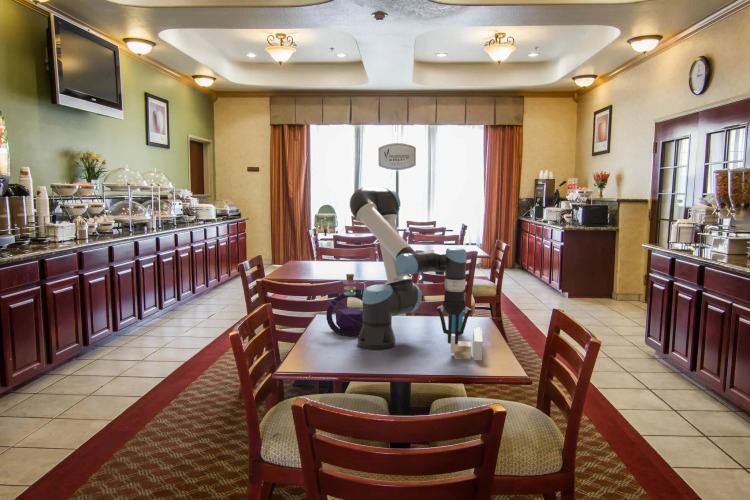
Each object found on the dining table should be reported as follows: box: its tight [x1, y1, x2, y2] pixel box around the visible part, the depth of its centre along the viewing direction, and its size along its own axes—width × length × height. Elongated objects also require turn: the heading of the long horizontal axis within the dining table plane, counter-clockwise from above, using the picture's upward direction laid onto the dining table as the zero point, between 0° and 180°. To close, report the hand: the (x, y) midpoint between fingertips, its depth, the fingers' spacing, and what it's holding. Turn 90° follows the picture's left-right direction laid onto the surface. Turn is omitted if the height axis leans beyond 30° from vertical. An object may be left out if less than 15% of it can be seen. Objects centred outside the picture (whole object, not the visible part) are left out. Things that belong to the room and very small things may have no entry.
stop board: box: [472, 326, 484, 361], centre depth 196 cm, size 3×20×7 cm, turn 170°
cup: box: [447, 309, 465, 336], centre depth 220 cm, size 14×8×15 cm, turn 21°
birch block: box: [453, 340, 472, 360], centre depth 190 cm, size 6×6×5 cm
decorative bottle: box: [326, 273, 363, 337], centre depth 221 cm, size 22×21×25 cm
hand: (452, 351), depth 190 cm, fingers closed
